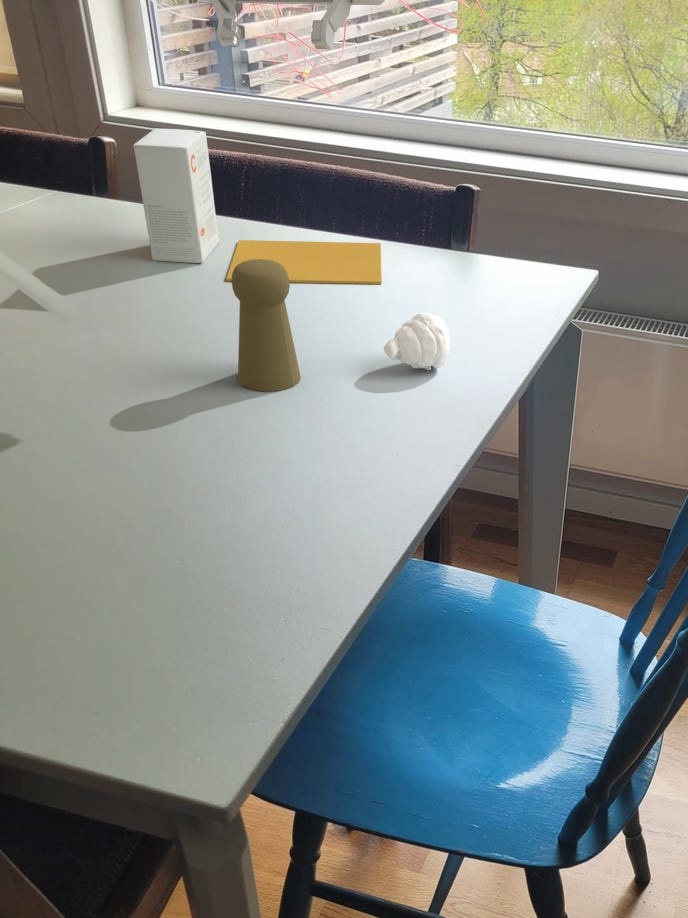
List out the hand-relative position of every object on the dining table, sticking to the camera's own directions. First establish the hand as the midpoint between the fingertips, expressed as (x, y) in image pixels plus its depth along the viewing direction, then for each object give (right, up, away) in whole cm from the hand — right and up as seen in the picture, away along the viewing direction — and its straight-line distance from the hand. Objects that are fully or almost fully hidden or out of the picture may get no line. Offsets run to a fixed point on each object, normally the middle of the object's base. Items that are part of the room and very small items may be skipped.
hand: (273, 44), depth 92 cm
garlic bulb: (+12, -28, +8) cm, 32 cm away
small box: (-17, -7, +31) cm, 37 cm away
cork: (-1, -30, +5) cm, 30 cm away
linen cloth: (-2, -9, +30) cm, 32 cm away
